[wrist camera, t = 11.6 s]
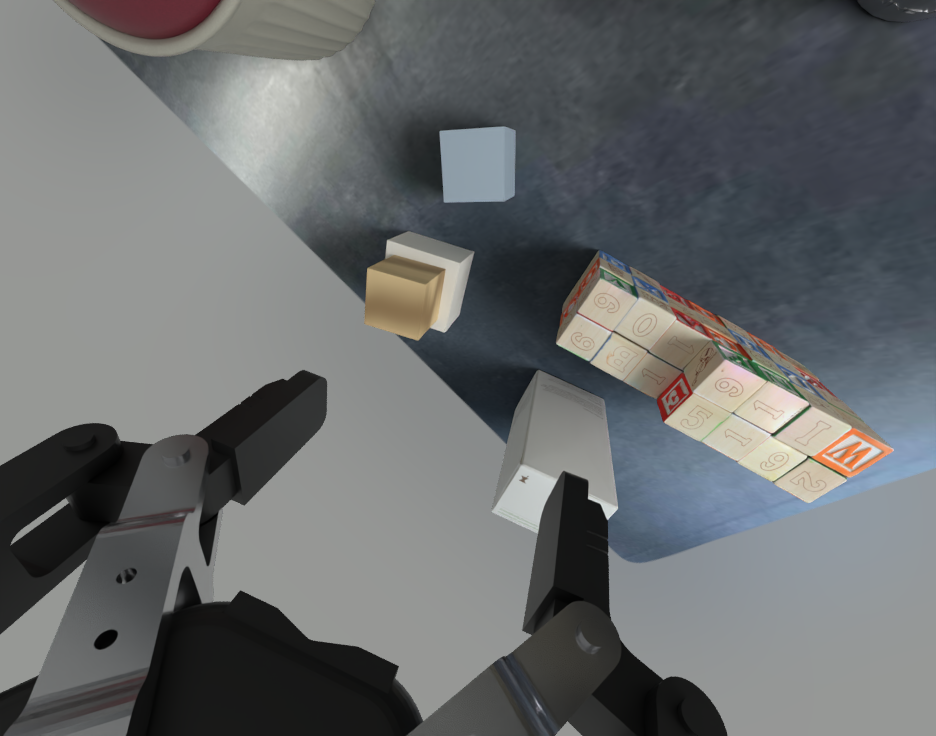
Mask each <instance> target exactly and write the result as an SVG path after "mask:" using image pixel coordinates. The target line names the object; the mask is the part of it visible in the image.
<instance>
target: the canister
mask: <svg viewBox="0 0 936 736" xmlns="http://www.w3.org/2000/svg"><path fill="white" fill-rule="evenodd" d="M53 1H54V2H55V3H56V4H57V5H58V6H59V7H60V8H61V9H63V10H64V11H65V12H66V13H67V14H68V15H69V16H70V17H72V18H73V19H74V20H75V21H76V22H78V23H79V24H80V25H81V26H83V27H84V28H86V29H87V30H88V31H90V32H91V33H93V34H94V35H96V36H97V37H99V38H101V39H102V40H104V41H106V42H108V43H110V44H112V45H114V46H116V47H118V48H121V49H123V50H126V51H129V52H133V53H136V54H141V55H146V56H153V57H168V56H175V55H180V54H183V53H186V52H189V51H191V50H194V49H197V50H204V51H213V52H222V53H230V54H238V55H246V56H254V57H263V58H273V59H286V60H319V59H321V58H323V57H330V56H332V55H334V54H335V53H336V52H337V51H341V50H343V49H344V48H345V47H346V45H347V44H349V43H351V42H353V41H354V39H355V37H356V36H357V34H358V33H359V32H361V31H362V29H363V26H364V24H365V22H366V21H367V20H368V19H369V17H370V12H371V10H372V8H373V6H374V5H375V0H53Z"/></svg>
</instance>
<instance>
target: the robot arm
mask: <svg viewBox="0 0 936 736" xmlns="http://www.w3.org/2000/svg"><path fill="white" fill-rule="evenodd" d="M857 1H858V3H859V4H860V6H861V7H862V8H864V9H865V10H866V11H867V12H869V13H870V14H871V15H873V16H875V17H878V18H881V19H884V20H886V21H894V22H911V21H918V20H924V19H928V18H931V17H934V16H936V0H857ZM326 412H327V381H326V379H325V378H323V377H320V376H318V375H316V374H313V373H310V372H308V371H305V370H302V371H300V372H298V373H297V374H295V375H294V376H293V377H291V378H290V379H289V380H284V379H281V380H278V381H275V382H272V383H269V384H267V385H265V386H263V387H262V388H260V389H259V390H258V391H256V392H255V393H253V394H252V396H251V397H250V396H249V397H248V398H246V399H245V400H244V401H242V402H241V404H240V405H239V404H238V405H237V406H235V407H234V408H232V409H231V410H230V411H228V412H227V413H226V414H224V415H223V416H221V417H220V418H219V419H217V420H216V421H214V422H213V423H212V424H210V425H209V426H208V427H206V428H205V429H203V430H202V431H200V432H199V433H197V434H196V435H188V434H186V435H175V436H171V437H168V438H165V439H163V440H160V441H158V442H157V443H155V444H144V443H135V442H125V441H120V439H119V437H118V434H117V432H116V430H115V429H114V428H113V427H111V426H109V425H106V424H99V423H90V424H83V425H78V426H74V427H71V428H68V429H65V430H63V431H61V432H59V433H57V434H55V435H53V436H52V437H50V438H48V439H46V440H44V441H43V442H41V443H40V444H37V445H36V446H34V447H32V448H30V449H29V450H27V451H25V452H23V453H22V454H20V455H19V456H16V457H15V458H13V459H11V460H10V461H8V462H6V463H4V464H3V465H1V466H0V634H1V633H2V632H3V631H5V630H6V629H7V628H8V627H9V626H11V625H12V624H13V623H14V622H15V621H16V620H17V619H19V618H20V617H21V616H22V615H23V614H24V613H25V612H27V611H28V610H29V609H30V608H31V607H32V606H34V605H35V604H36V603H37V602H38V601H39V600H40V599H42V598H43V597H44V596H45V595H46V594H47V593H49V592H50V591H51V590H52V589H53V588H54V587H55V586H57V585H58V584H59V583H60V582H61V581H62V580H63V579H65V578H66V577H67V576H68V575H69V574H70V573H72V572H73V571H74V570H75V569H76V568H77V567H79V566H80V565H81V564H82V563H83V562H84V561H85V560H87V561H86V563H85V565H84V568H83V570H82V573H81V575H80V577H79V580H78V582H77V585H76V587H75V589H74V592H73V594H72V597H71V599H70V601H69V604H68V606H67V609H66V611H65V614H64V616H63V618H62V621H61V623H60V626H59V628H58V631H57V633H56V635H55V638H54V640H53V643H52V645H51V647H50V650H49V652H48V654H47V657H46V659H45V662H44V664H43V667H42V669H41V671H40V674H39V675H38V676H36V677H34V678H32V679H30V680H28V681H25V682H23V683H21V684H19V685H17V686H15V687H13V688H10V689H9V690H6V691H4V692H2V693H0V736H555V735H556V734H557V732H558V731H559V730H560V729H561V728H562V727H563V726H564V724H565V723H566V722H567V721H568V722H569V723H570V724H571V725H572V726H573V727H574V728H575V729H576V730H577V731H578V732H579V733H580V734H581V735H582V736H727V732H726V729H725V726H724V723H723V721H722V719H721V716H720V715H719V713H718V711H717V710H716V707H715V706H714V705H713V703H712V702H711V700H710V699H709V698H708V697H707V696H706V694H705V693H704V692H703V691H702V690H700V689H699V688H698V687H697V686H696V685H694V684H693V683H691V682H690V681H688V680H686V679H683V678H680V677H669V678H666V679H665V680H663V679H662V678H661V677H659V676H658V675H657V674H656V673H654V672H653V671H652V670H651V669H649V668H648V667H647V666H646V665H645V664H644V663H642V662H641V661H640V660H639V659H637V658H636V657H635V656H634V655H633V654H632V653H631V652H630V651H629V650H628V649H627V648H626V647H625V646H624V644H623V643H622V641H621V640H620V638H619V634H618V632H617V630H616V627H615V626H614V624H613V622H612V621H611V617H610V612H609V568H608V567H609V564H608V541H607V539H608V521H607V518H606V516H605V514H604V511H603V509H602V506H601V504H600V503H597V502H594V501H592V500H589V499H588V489H589V482H588V480H587V479H585V478H582V477H579V476H577V475H574V474H571V473H569V472H566V471H563V472H562V473H561V475H560V476H559V478H558V480H557V482H556V484H555V486H554V488H553V490H552V491H551V493H550V495H549V497H548V499H547V501H546V503H545V506H544V508H543V511H542V515H541V519H540V524H539V530H538V537H537V543H536V549H535V555H534V561H533V568H532V574H531V580H530V587H529V593H528V599H527V605H526V611H525V617H524V624H523V631H524V632H526V633H529V634H531V635H532V636H531V637H530V638H528V639H527V640H526V641H525V642H524V643H522V644H521V645H520V646H519V647H518V648H517V649H515V650H514V651H513V652H512V653H510V654H509V655H508V656H506V657H505V656H503V657H501V658H500V659H498V660H497V661H495V662H494V663H493V664H492V665H490V666H489V667H488V668H487V669H486V670H485V671H483V672H482V673H481V674H480V675H478V676H477V677H476V678H475V679H474V680H472V681H471V682H470V683H469V684H468V685H466V686H465V687H464V688H463V689H462V690H461V691H459V692H458V693H457V694H456V695H454V696H453V697H452V698H451V699H450V700H448V701H447V702H446V703H445V704H444V705H442V706H441V707H440V708H439V709H438V710H436V711H435V712H434V713H433V714H432V715H431V716H429V717H428V718H427V719H426V720H425V721H423V720H422V717H421V715H420V713H419V710H418V708H417V706H416V704H415V703H414V701H413V699H412V697H411V696H410V695H409V693H408V692H407V691H406V689H405V688H404V687H403V686H402V685H401V684H400V683H399V682H398V681H397V680H396V679H395V677H396V674H397V670H398V667H399V666H397V665H395V664H393V663H391V662H389V661H387V660H385V659H382V658H380V657H378V656H376V655H374V654H372V653H370V652H368V651H366V650H364V649H362V648H359V647H356V646H348V645H341V644H333V643H326V642H318V641H313V640H310V639H308V638H307V637H306V636H305V635H304V634H303V633H302V632H301V631H300V630H299V629H298V628H297V627H296V626H295V625H294V624H293V623H292V622H291V621H290V620H289V619H288V618H287V617H286V616H285V615H284V614H283V613H282V612H281V611H280V610H279V609H278V608H276V607H274V606H272V605H270V604H268V603H266V602H264V601H261V600H259V599H257V598H255V597H253V596H251V595H249V594H247V593H245V592H243V591H240V592H239V593H238V594H237V595H236V596H235V598H234V599H233V600H232V601H231V602H213V595H214V591H213V572H214V565H215V558H216V552H217V546H218V539H219V533H220V527H221V520H222V513H223V510H222V508H223V507H224V506H225V505H226V504H227V503H228V502H229V500H233V501H236V502H238V503H240V504H242V505H245V504H246V503H247V502H248V501H249V500H250V499H251V498H252V497H253V496H254V495H255V494H256V493H257V492H258V491H259V490H260V489H261V488H262V487H263V486H264V485H265V484H266V483H267V482H268V481H269V480H270V479H271V478H272V477H273V476H274V475H275V474H276V473H277V472H278V471H279V470H280V469H281V468H282V467H283V466H284V465H285V464H286V463H287V462H288V461H289V460H290V459H291V458H292V457H293V456H294V455H295V453H297V452H298V451H299V450H300V449H301V448H302V447H303V446H304V445H305V443H306V442H308V441H309V440H310V438H312V437H313V436H314V435H315V433H316V432H317V431H318V430H319V429H320V428H321V426H322V425H323V423H324V420H325V418H326ZM65 498H66V499H67V500H68V502H69V503H68V504H67V505H66V506H64V507H63V508H62V509H60V510H59V511H57V512H56V513H55V514H53V515H52V516H51V517H49V518H48V519H46V520H45V521H44V522H42V523H41V524H40V525H38V526H37V527H35V528H34V529H33V530H31V531H30V532H29V533H27V534H26V535H24V536H23V537H22V538H20V539H19V540H17V541H16V542H15V543H13V544H12V545H11V542H12V540H13V538H14V537H15V536H16V534H17V533H18V532H19V531H20V530H21V529H23V528H24V527H25V526H27V525H28V524H30V523H31V522H32V521H34V520H35V519H37V518H38V517H39V516H41V515H42V514H44V513H45V512H47V511H48V510H49V509H51V508H52V507H53V506H55V505H56V504H58V503H59V502H61V501H62V500H63V499H65ZM10 545H11V546H10Z"/></svg>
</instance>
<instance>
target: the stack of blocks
mask: <svg viewBox="0 0 936 736" xmlns="http://www.w3.org/2000/svg"><path fill="white" fill-rule="evenodd" d="M556 344H557V345H558V346H560V347H562V348H564V349H566V350H568V351H569V352H571V353H573V354H575V355H577V356H579V357H580V358H582V359H584V360H587V361H589V362H590V363H591V364H592V365H594V366H596V367H598V368H599V369H601V370H603V371H605V372H607V373H609V374H610V375H612V376H614V377H616V378H618V379H619V380H622V381H624V382H625V383H626V384H628V385H630V386H632V387H633V388H635V389H637V390H639V391H641V392H643V393H645V394H647V395H649V396H651V397H654V398H657V404H658V407H659V410H660V413H661V417H662V420H663V422H664V423H666V424H667V425H669V426H671V427H673V428H675V429H677V430H679V431H681V432H682V433H684V434H686V435H688V436H690V437H691V438H693V439H695V440H697V441H701V442H703V443H704V444H706V445H708V446H709V447H711V448H713V449H715V450H717V451H719V452H721V453H723V454H724V455H726V456H728V457H730V458H732V459H733V460H735V461H736V462H737V463H739V464H740V465H742V466H744V467H746V468H747V469H749V470H751V471H753V472H755V473H756V474H758V475H760V476H762V477H764V478H765V479H767V480H769V481H772V482H773V483H774V484H775V485H777V486H778V487H780V488H782V489H784V490H785V491H787V492H789V493H791V494H792V495H794V496H796V497H798V498H799V499H801V500H803V501H805V502H807V503H810V502H812V501H814V500H815V499H817V498H819V497H820V496H822V495H824V494H825V493H827V492H829V491H830V490H832V489H833V488H835V487H837V486H839V485H841V484H842V483H844V482H846V481H847V477H852V476H854V475H857V474H858V473H860V472H861V471H863V470H864V469H866V468H868V467H869V466H871V465H872V464H874V463H875V462H877V461H879V460H880V459H882V458H883V457H885V456H886V455H888V454H889V453H891V452H892V451H893V450H894V449H893V448H892V447H891V446H890V445H889V444H888V443H887V442H885V441H884V440H883V439H882V438H881V437H880V436H879V435H878V434H877V433H875V432H874V431H873V430H872V429H871V428H870V427H869V426H868V425H866V424H865V423H864V421H863V420H862V419H861V418H860V417H858V416H857V414H855V413H854V412H853V411H852V410H851V409H850V408H849V407H848V406H847V405H846V404H845V403H844V402H843V401H841V400H839V399H838V398H837V397H836V396H835V395H834V394H833V393H832V392H830V391H829V390H828V389H827V388H826V387H825V386H824V385H823V384H822V383H821V382H819V379H818V378H817V377H816V376H815V375H814V374H812V373H811V372H810V371H809V370H808V369H807V368H806V367H804V366H803V365H802V364H800V363H799V362H797V361H795V360H793V359H792V358H790V357H788V356H787V355H785V354H783V353H781V352H780V351H778V350H776V349H775V348H774V347H773V346H771V345H769V344H768V343H766V342H764V341H762V340H761V339H759V338H757V337H755V336H753V335H752V334H750V333H748V332H746V331H744V330H743V329H741V328H740V327H738V326H736V325H735V324H733V323H731V322H729V321H727V320H726V319H724V318H722V317H720V316H718V315H713V314H712V313H711V312H709V311H707V310H705V309H703V308H701V307H700V306H698V305H696V304H694V303H693V302H691V301H689V300H685V299H684V298H682V297H681V296H679V295H677V294H675V293H674V292H672V291H670V290H668V289H666V288H665V287H663V286H661V285H659V283H658V282H657V281H655V280H653V279H652V278H650V277H648V276H646V275H645V274H643V273H641V272H639V271H638V270H636V269H634V268H632V267H630V266H627V265H626V264H624V263H622V262H621V261H619V260H617V259H615V258H613V257H612V256H610V255H608V254H606V253H604V252H603V251H601V250H599V251H598V252H597V253H596V255H595V257H594V258H593V260H592V261H591V263H590V264H589V266H588V267H587V269H586V270H585V272H584V273H583V275H582V276H581V278H580V279H579V281H578V282H577V283H576V285H575V286H574V288H573V289H572V291H571V292H570V294H569V296H568V297H567V299H566V301H565V302H564V304H563V309H562V315H561V320H560V327H559V330H558V334H557V340H556Z"/></svg>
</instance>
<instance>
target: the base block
mask: <svg viewBox="0 0 936 736" xmlns="http://www.w3.org/2000/svg"><path fill="white" fill-rule="evenodd" d="M393 255H397V256H401V257H404V258H408V259H411V260H415V261H419V262H422V263H426V264H429V265H433V266H436V267H440V268H444V269H446V271H445V277H444V283H443V289H442V295H441V301H440V307H439V314H438V320H437V321H436V322H435V323H434V324H433V325H432V326H431V327H430V328H432V329H435V330H438V331H441V332H444V333H445V332H446V331H447V329H448V328H449V327H450V326H451V325H452V323H453V322H454V321H455V320H456V319H457V317H458V316H459V314H460V309H461V305H462V301H463V297H464V293H465V288H466V284H467V280H468V276H469V272H470V267H471V263H472V259H473V255H474V251H470V250H467V249H464V248H461V247H458V246H454V245H451V244H448V243H445V242H442V241H439V240H435V239H432V238H429V237H426V236H423V235H419V234H416V233H413V232H410V231H408V232H406V233H403V234H401V235H398V236H396V237H393V238H391V239H389V240H387V247H386V256H385V259H387V258H389V257H391V256H393Z"/></svg>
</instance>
